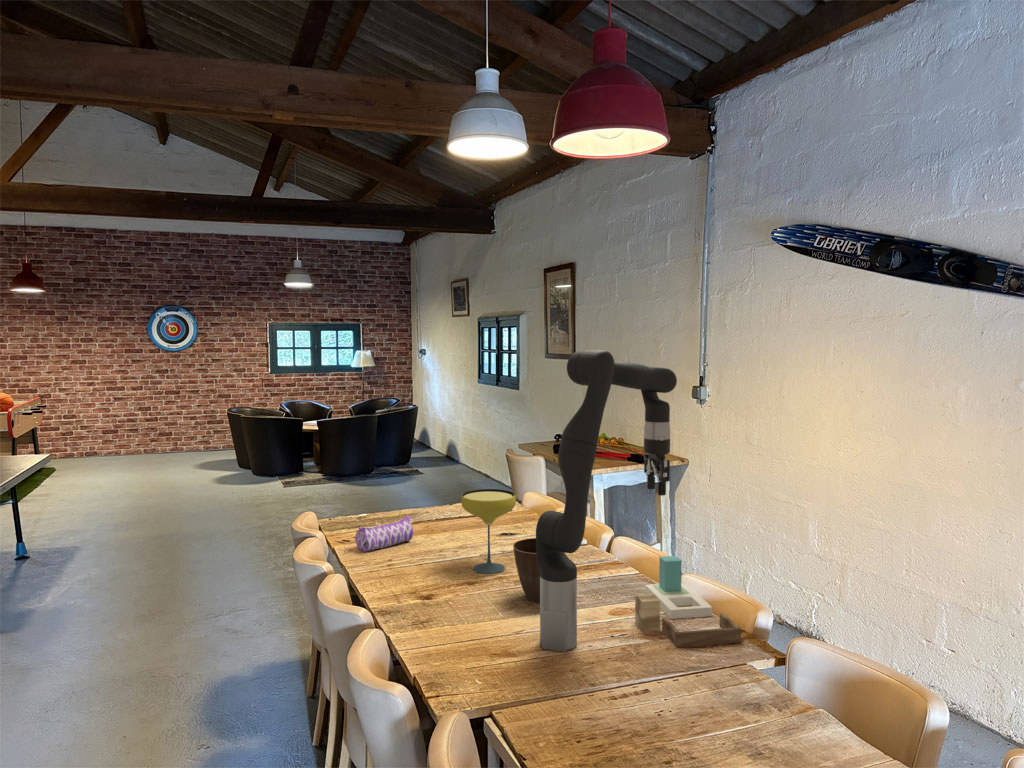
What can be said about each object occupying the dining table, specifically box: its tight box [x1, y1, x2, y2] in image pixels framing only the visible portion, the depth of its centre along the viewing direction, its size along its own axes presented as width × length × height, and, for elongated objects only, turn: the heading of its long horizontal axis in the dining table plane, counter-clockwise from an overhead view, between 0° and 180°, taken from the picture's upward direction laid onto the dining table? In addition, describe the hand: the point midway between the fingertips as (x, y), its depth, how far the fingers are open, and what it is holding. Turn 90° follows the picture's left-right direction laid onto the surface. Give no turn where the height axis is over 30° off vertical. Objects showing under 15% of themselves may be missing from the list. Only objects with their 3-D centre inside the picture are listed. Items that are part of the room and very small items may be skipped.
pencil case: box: [355, 516, 414, 553], centre depth 259 cm, size 22×9×10 cm, turn 134°
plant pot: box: [512, 537, 540, 604], centre depth 206 cm, size 15×15×16 cm
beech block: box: [634, 593, 661, 632], centre depth 185 cm, size 5×5×8 cm
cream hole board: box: [644, 581, 713, 620], centre depth 201 cm, size 20×12×3 cm, turn 9°
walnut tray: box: [661, 613, 742, 648], centre depth 179 cm, size 10×17×4 cm, turn 99°
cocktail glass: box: [460, 488, 517, 575], centre depth 232 cm, size 18×18×25 cm
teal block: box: [658, 555, 683, 592], centre depth 206 cm, size 4×5×9 cm
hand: (656, 492), depth 204 cm, fingers open, 8 cm apart
